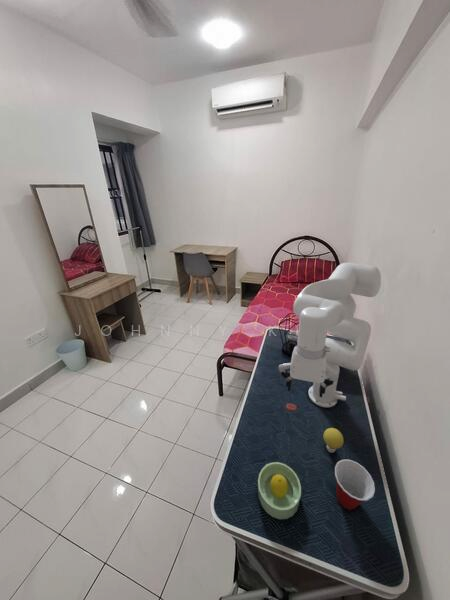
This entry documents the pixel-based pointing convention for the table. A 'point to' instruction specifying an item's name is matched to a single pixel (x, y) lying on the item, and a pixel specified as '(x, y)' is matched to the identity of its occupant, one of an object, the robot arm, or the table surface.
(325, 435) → the light bulb
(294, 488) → the pale green bowl
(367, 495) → the plastic cup
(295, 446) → the table surface
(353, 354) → the robot arm
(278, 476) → the lemon
